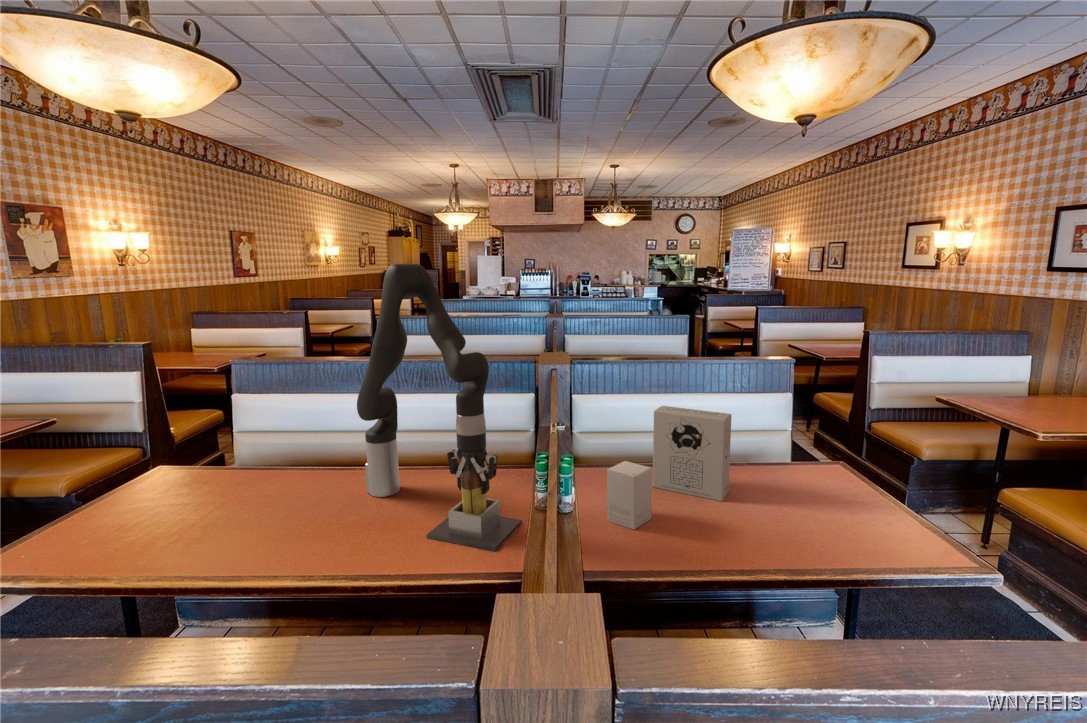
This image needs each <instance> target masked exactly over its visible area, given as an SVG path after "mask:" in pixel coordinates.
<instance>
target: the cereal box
mask: <svg viewBox="0 0 1087 723" xmlns="http://www.w3.org/2000/svg"><path fill="white" fill-rule="evenodd" d="M652 432H653V438H652V439H653V440H652V441H653V443H652V444H653V445H652V446H653V447H652V488H655V489H659V490H664V491H665V490H666V491H670V492H675V493H680V494H683V495H689V496H692V497H693V496H694V497H698V498H702V499H708V500H713V501H718V502H723V501H724V500H725V498H726V496H727V495H728V493H729V490H730V489H729V488H730V487H729V486H730V464H731V463H730V462H731V460H730V459H731V441H732V440H731V437H732V436H731V434H732V414H731V413H726V412H720V411H719V412H718V411H711V410H701V409H693V408H687V407H686V408H683V407H678V406H677V407H676V406H668V405H661V406H660V407H658V408H656V409H654V410H653V431H652Z"/></svg>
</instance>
